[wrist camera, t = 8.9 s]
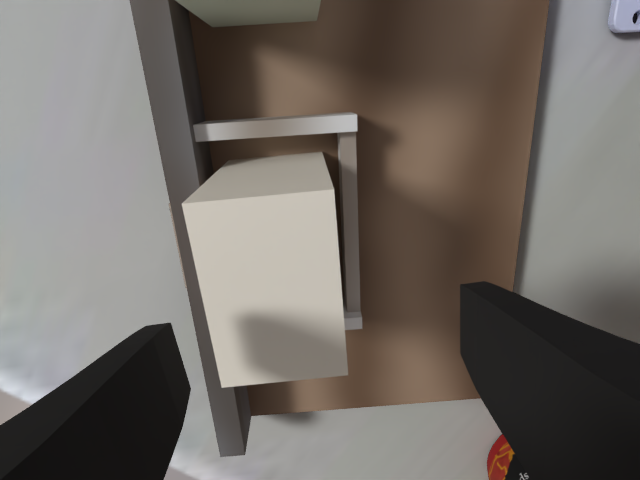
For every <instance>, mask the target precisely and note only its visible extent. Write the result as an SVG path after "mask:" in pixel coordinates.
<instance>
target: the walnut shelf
mask: <svg viewBox="0 0 640 480" xmlns="http://www.w3.org/2000/svg"><path fill="white" fill-rule="evenodd" d="M130 5H131V10H132V15H133V20H134V25H135V30H136V35H137V40H138V45H139V50H140V55H141V60H142V65H143V70H144V75H145V80H146V85H147V90H148V95H149V100H150V105H151V110H152V115H153V120H154V125H155V130H156V135H157V140H158V145H159V150H160V155H161V160H162V165H163V170H164V175H165V180H166V185H167V190H168V195H169V200H170V203H169V207H170V212H171V217H172V222H173V227H174V232H175V237H176V242H177V247H178V252H179V257H180V262H181V267H182V272H183V277H184V282H185V287H186V288H187V291H188V296H189V301H190V306H191V311H192V316H193V321H194V326H195V331H196V336H197V341H198V346H199V351H200V356H201V361H202V366H203V371H204V376H205V381H206V386H207V391H208V396H209V401H210V406H211V411H212V417H213V422H214V427H215V432H216V437H217V442H218V447H219V452H220V457H225V456H238V455H245V452H246V446H247V439H248V433H249V427H250V420H251V416H257V415H270V414H283V413H295V412H308V411H321V410H334V409H347V408H360V407H373V406H386V405H399V404H412V403H425V402H438V401H451V400H464V399H477V398H481V397H480V395H479V394H478V392H477V390H476V388H475V386H474V384H473V382H472V380H471V377H470V375H469V373H468V371H467V368H466V366H465V364H464V361H463V359H462V357H461V354H460V284H466V283H474V282H482V281H486V282H489V283H492V284H495V285H497V286H500V287H502V288H504V289H507V290H509V291H511V292H513V284H514V277H515V269H516V261H517V253H518V245H519V237H520V229H521V221H522V213H523V205H524V198H525V190H526V182H527V174H528V166H529V158H530V150H531V142H532V134H533V127H534V119H535V111H536V103H537V95H538V87H539V79H540V71H541V63H542V55H543V48H544V40H545V32H546V24H547V16H548V8H549V0H321V3H320V8H319V13H318V18H317V21H308V22H291V23H274V24H258V25H241V26H224V27H211V26H210V25H209V24H207V23H206V22H204V21H203V20H202V19H200V18H199V17H197V16H196V15H195V14H193V13H192V12H190V11H189V10H188V9H186V8H185V7H183V6H182V5H181V4H179V3H178V2H177V1H175V0H130ZM312 152H322V153H323V156H324V159H325V163H326V166H327V169H328V172H329V175H330V178H331V181H332V184H333V187H334V194H335V207H336V220H337V233H338V247H339V260H340V273H341V286H342V299H343V312H344V326H345V339H346V352H347V365H348V375H346V376H336V377H326V378H316V379H305V380H295V381H285V382H275V383H265V384H255V385H245V386H235V387H224V388H222V387H221V382H220V378H219V373H218V369H217V364H216V359H215V355H214V350H213V346H212V341H211V336H210V332H209V327H208V323H207V318H206V313H205V309H204V304H203V300H202V295H201V291H200V286H199V281H198V277H197V272H196V268H195V263H194V258H193V254H192V249H191V245H190V240H189V235H188V231H187V226H186V222H185V217H184V213H183V208H182V203H183V202H184V201H185V200H186V199H187V198H188V197H189V196H191V195H192V194H193V193H194V192H195V191H196V190H197V189H198V188H199V187H200V186H201V185H203V184H204V183H205V182H206V181H207V180H208V179H209V178H210V177H211V176H212V175H213V174H214V173H216V172H217V171H218V170H219V169H220V168H221V167H222V166H223V165H224V164H225V163H226V162H227V161H229V160H238V159H249V158H259V157H270V156H281V155H291V154H302V153H312Z"/></svg>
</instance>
